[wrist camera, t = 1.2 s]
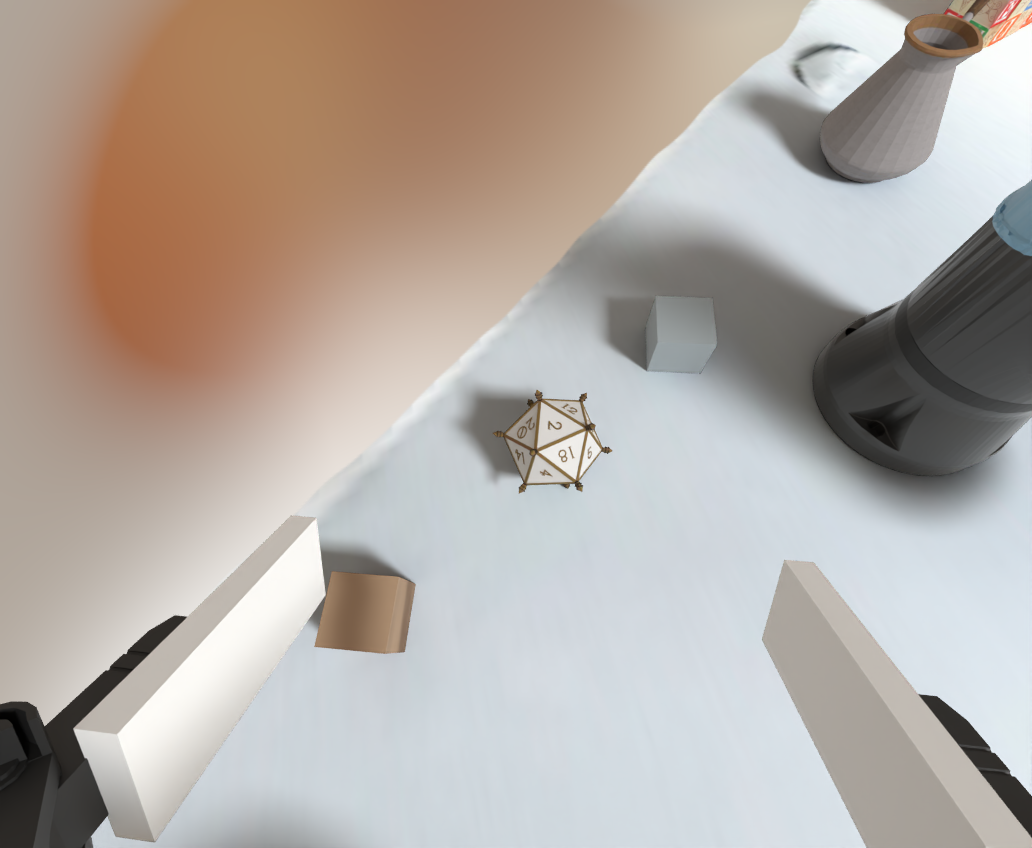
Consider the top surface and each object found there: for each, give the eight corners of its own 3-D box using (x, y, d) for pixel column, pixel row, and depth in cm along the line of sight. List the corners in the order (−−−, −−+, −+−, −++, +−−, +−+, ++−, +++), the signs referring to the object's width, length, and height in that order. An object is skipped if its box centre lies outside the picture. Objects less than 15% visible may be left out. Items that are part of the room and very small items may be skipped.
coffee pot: (881, 210, 52) (999, 60, 39) (788, 162, 56) (867, 9, 43) (973, 115, 58) (1106, -47, 44) (883, 77, 62) (980, -83, 48)
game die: (548, 492, 45) (503, 526, 36) (511, 409, 46) (459, 423, 37) (636, 458, 42) (611, 487, 32) (596, 369, 42) (560, 373, 33)
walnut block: (415, 584, 39) (398, 576, 34) (404, 651, 37) (385, 653, 32) (356, 579, 39) (331, 571, 35) (342, 646, 37) (314, 646, 33)
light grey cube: (696, 330, 48) (712, 297, 43) (700, 374, 46) (717, 344, 41) (645, 328, 48) (655, 295, 43) (646, 371, 46) (657, 342, 41)
